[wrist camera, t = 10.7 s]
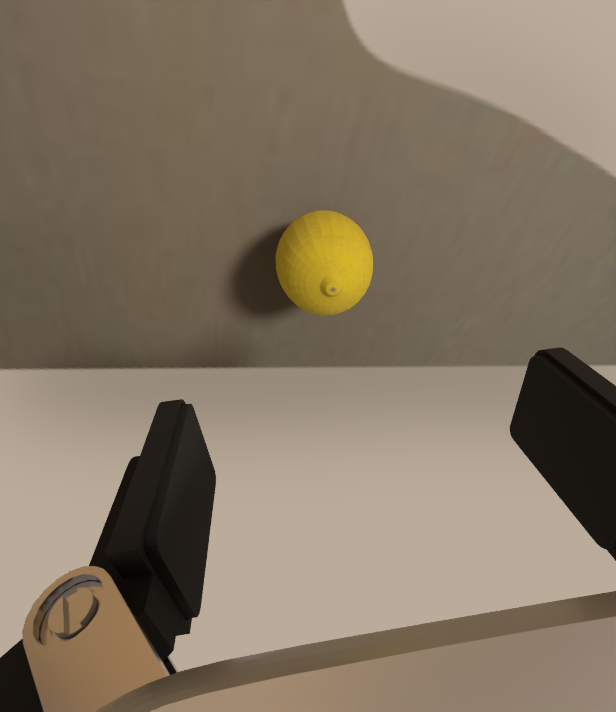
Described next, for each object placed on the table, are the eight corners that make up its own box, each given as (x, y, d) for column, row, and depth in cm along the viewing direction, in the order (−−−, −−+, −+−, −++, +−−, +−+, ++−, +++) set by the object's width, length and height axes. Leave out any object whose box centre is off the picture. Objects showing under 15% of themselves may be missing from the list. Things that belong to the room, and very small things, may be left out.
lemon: (267, 273, 25) (265, 327, 19) (285, 188, 22) (291, 216, 16) (343, 290, 26) (366, 347, 20) (369, 211, 24) (407, 247, 17)
